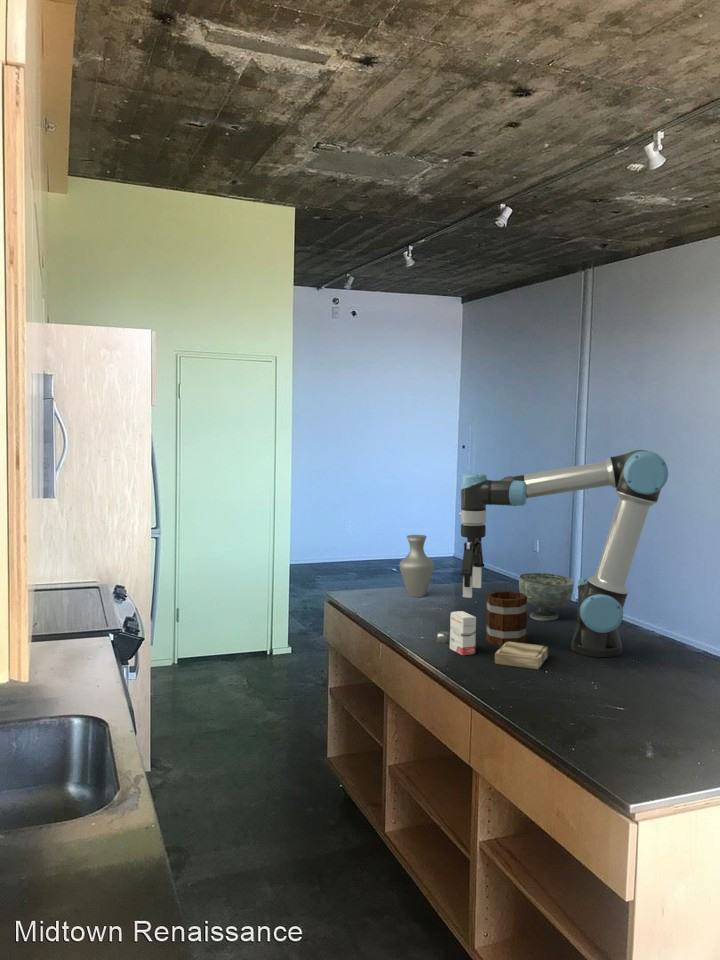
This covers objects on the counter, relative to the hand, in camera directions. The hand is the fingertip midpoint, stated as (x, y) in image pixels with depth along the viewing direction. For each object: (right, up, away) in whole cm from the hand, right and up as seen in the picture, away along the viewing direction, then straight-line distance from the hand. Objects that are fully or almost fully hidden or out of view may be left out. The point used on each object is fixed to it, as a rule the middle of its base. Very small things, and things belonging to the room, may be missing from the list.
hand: (472, 592), depth 229 cm
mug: (+15, -18, +20) cm, 31 cm away
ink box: (-2, -20, +6) cm, 21 cm away
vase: (-11, -14, +81) cm, 83 cm away
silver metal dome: (-7, -19, +16) cm, 26 cm away
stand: (+15, -20, -3) cm, 25 cm away
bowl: (+34, -16, +45) cm, 58 cm away
